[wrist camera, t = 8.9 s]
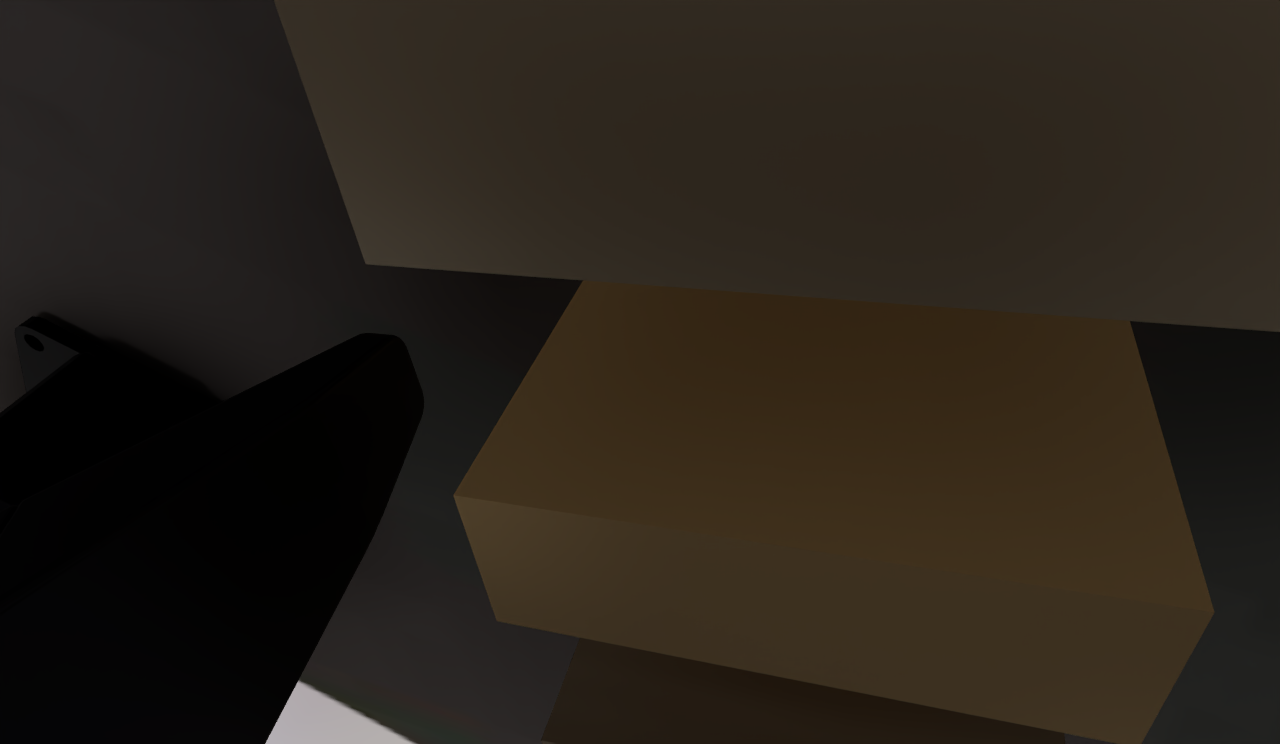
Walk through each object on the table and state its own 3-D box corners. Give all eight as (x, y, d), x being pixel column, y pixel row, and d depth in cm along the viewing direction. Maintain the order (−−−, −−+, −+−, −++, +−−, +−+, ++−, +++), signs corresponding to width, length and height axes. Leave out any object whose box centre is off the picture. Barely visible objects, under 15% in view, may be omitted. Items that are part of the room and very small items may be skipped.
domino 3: (1001, 402, 14) (1043, 931, 8) (712, 376, 15) (566, 811, 9) (1017, 325, 13) (1080, 864, 7) (707, 305, 14) (540, 740, 8)
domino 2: (1041, 212, 12) (1139, 747, 6) (698, 197, 13) (497, 621, 7) (1065, 101, 11) (1213, 611, 5) (692, 99, 12) (453, 495, 6)
